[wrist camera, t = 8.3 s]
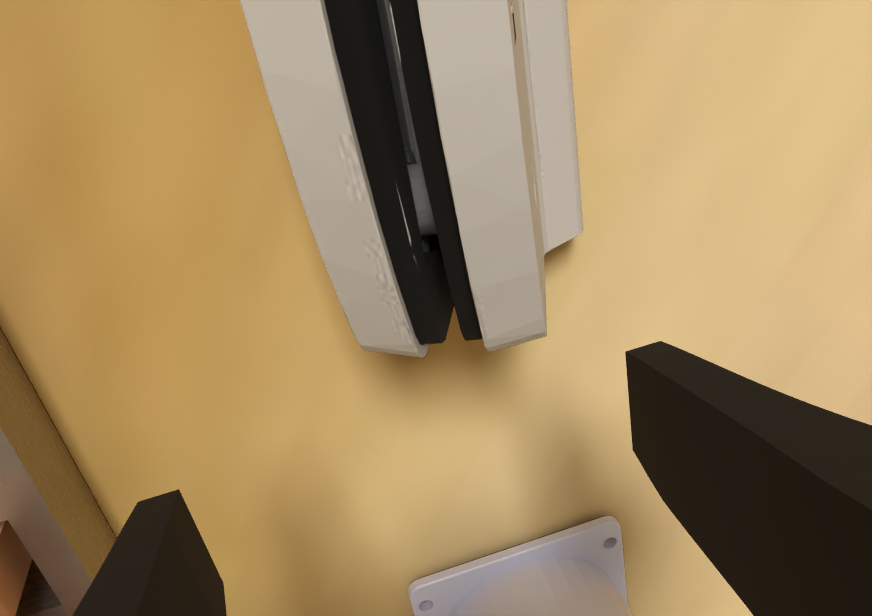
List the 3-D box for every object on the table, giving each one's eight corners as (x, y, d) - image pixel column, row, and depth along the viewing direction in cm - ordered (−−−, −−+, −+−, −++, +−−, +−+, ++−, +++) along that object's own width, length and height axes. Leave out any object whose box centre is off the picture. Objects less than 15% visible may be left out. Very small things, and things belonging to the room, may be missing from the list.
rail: (243, 768, 29) (244, 836, 27) (106, 817, 28) (97, 891, 26) (-79, 185, 17) (-122, 222, 15) (-324, 245, 17) (-405, 292, 15)
